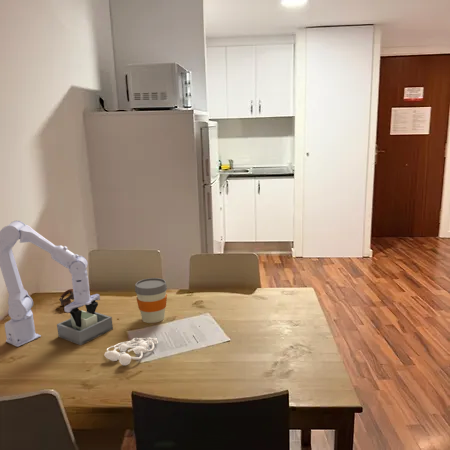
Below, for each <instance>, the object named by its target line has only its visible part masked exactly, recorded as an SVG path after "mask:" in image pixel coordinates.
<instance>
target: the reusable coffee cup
mask: <svg viewBox="0 0 450 450" xmlns="http://www.w3.org/2000/svg"><path fill="white" fill-rule="evenodd" d="M134 286H135V287H134V291H135V294H136V304H137V307H138V310H139V311H140V316H141V319H142V320H141V321H142V322H144V323H148V324H155V323H159V322H161V321H163V320H165V316H166V314H165V313H166V312H165V311H166V307H167V300H168V299H167V297H168V295H167V290H168V287H167V281H166V280H165V279H164V278H160V277H151V278H150V277H149V278H143V279H141V280H138V281H137V282H136V283H135V285H134Z"/></svg>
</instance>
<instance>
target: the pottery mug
mask: <svg viewBox="0 0 450 450" xmlns="http://www.w3.org/2000/svg"><path fill="white" fill-rule="evenodd" d="M68 294H69V295H68ZM67 295H68V296H67ZM66 296H67V297H66ZM65 297H66V298H65ZM71 300H73V301H74V294H73V288H70V289H67V290H65V291H64V292H63V293H62V294H61V295H60V297H59V301H60V305H61V306H64V307H65V306H67V305H69V304H70V303H72V301H71Z"/></svg>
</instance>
